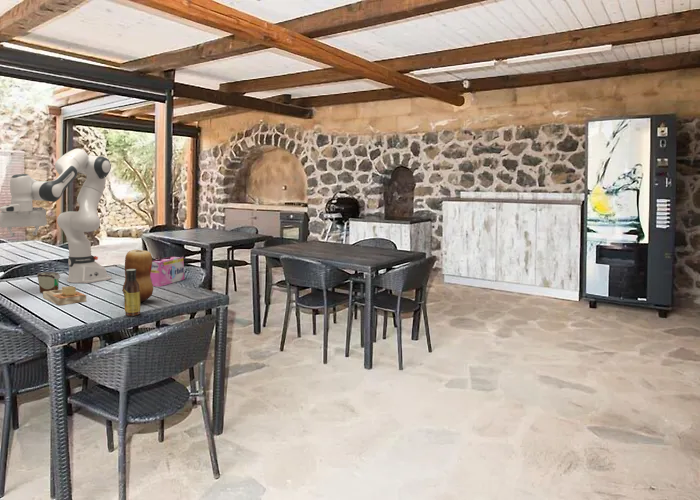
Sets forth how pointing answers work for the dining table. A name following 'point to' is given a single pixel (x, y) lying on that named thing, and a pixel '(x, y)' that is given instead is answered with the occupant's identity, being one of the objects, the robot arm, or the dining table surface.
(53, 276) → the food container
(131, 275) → the sauce bottle
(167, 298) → the dining table surface
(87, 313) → the dining table surface
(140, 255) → the butternut squash
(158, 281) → the gum box
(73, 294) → the brass peg
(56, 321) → the dining table surface
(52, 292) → the rail
